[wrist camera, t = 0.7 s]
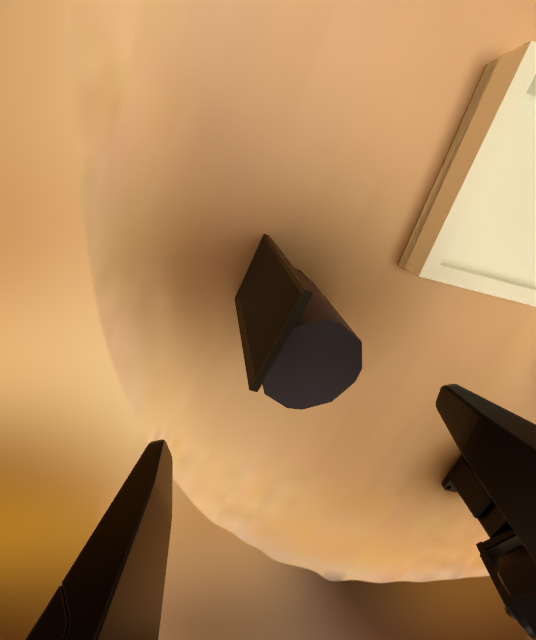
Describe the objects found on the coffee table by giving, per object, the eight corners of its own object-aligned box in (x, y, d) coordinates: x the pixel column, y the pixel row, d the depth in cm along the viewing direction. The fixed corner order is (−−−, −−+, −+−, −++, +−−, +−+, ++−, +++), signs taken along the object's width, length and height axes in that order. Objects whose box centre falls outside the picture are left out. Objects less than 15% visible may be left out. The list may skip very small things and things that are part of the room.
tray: (654, 126, 18) (723, 116, 16) (537, 301, 23) (574, 316, 20) (487, 64, 17) (531, 40, 14) (398, 265, 22) (418, 276, 19)
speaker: (210, 288, 22) (200, 374, 12) (265, 231, 20) (300, 279, 11) (279, 346, 25) (312, 449, 16) (331, 300, 23) (400, 382, 14)
